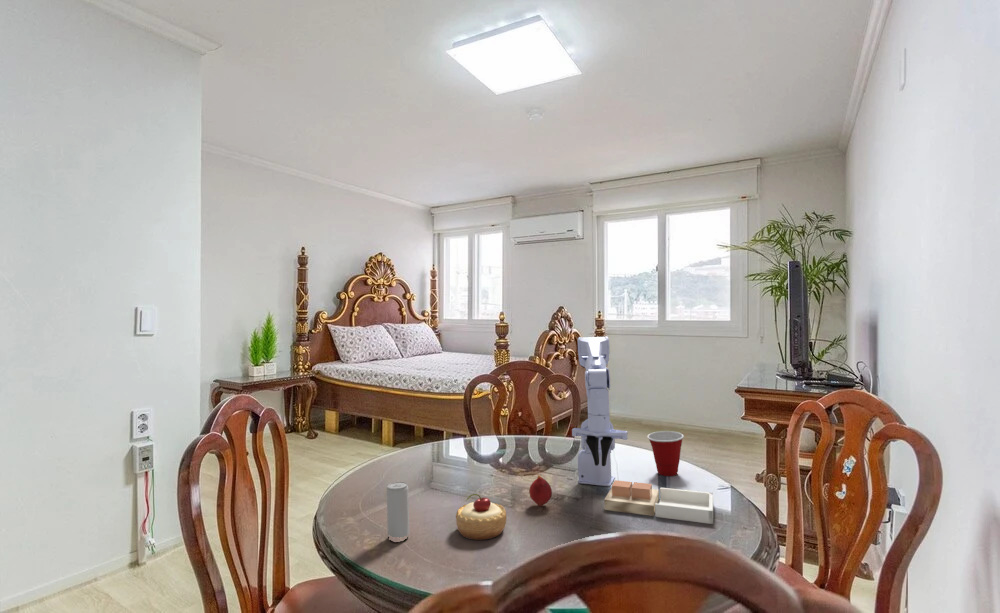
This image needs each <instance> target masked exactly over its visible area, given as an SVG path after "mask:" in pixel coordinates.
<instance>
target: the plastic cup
mask: <svg viewBox="0 0 1000 613" xmlns="http://www.w3.org/2000/svg"><path fill="white" fill-rule="evenodd" d="M646 437H647V439H648V440H649V442H650V446H651V449H652V453H653V458H654V462H655V465H656V466H655V468H656V470H657V474H658V475H661V476H665V477H673V476H677V475H678V472H679V466H680V465H679V464H680V459H681V451H682V444H683V439H684V437H685V435H684V434H683V433H681V432H679V431H671V430H661V431H654V432H651V433H649V434H648V435H646Z"/></svg>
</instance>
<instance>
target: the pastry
mask: <svg viewBox="0 0 1000 613" xmlns="http://www.w3.org/2000/svg"><path fill="white" fill-rule="evenodd" d="M473 496H478V498H477V499H476V500H474V501H473V502H469V503H468V504H463V506H459V508H458V510H457V511H456V513H455V514H456V515H455V520H456V527H457V529H458V532H459V533H460V534H461V536H462V535H463V536H462V537H463V538H465V537H467V538H466V539H468V538H470V539H469V540H473V539H474V540H473V541H483V540H490V539H493V538H497V537H498V536H499V535H501V534H502V532H503V530H504V529H505V527H506V524H507V511H506V509H505V507H504V506H503V505H502V504H498V503H496V502H495V503H494V502H491V500H490V498H489V497H481V495H480V494H477V493H473V494H471V495H469V496H468V497H467V498H466V500H465V502H467V501H468V500H469V499H470V498H471V497H473Z"/></svg>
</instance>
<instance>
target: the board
mask: <svg viewBox="0 0 1000 613" xmlns="http://www.w3.org/2000/svg"><path fill="white" fill-rule="evenodd" d="M659 502H660V489H657V488H652V496H651V499H650V500H648V499H640V498H632V494H631V496H630V497H622V496H614V495H612V487H611V488H610V489H609V491H608V493H607V494H606V496H605V498H604V503H603V504H604V510H605V511H612V512H619V513H620V512H621V513H627V514H636V515H642V516H651V517H654V516H655V515H656V514H655V503H659Z"/></svg>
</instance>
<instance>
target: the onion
mask: <svg viewBox="0 0 1000 613" xmlns="http://www.w3.org/2000/svg"><path fill="white" fill-rule="evenodd" d="M528 493H529V496H530V498H531V500H532V501H533V502H534V503H535V504H536V505H537V506H539V507H543V506H544V505H546V504H547V503H548V502H550V500H551V498H552V497H553V496H552V494H553V489H552V486H551V485H550V484H549V482H548V481H547V480H546V479H544V478H543V477H542V476H541V475H540V474H538V475H537V478H536V479H535V480H533V482H532V483H531V484H530V487H529V491H528Z"/></svg>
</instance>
